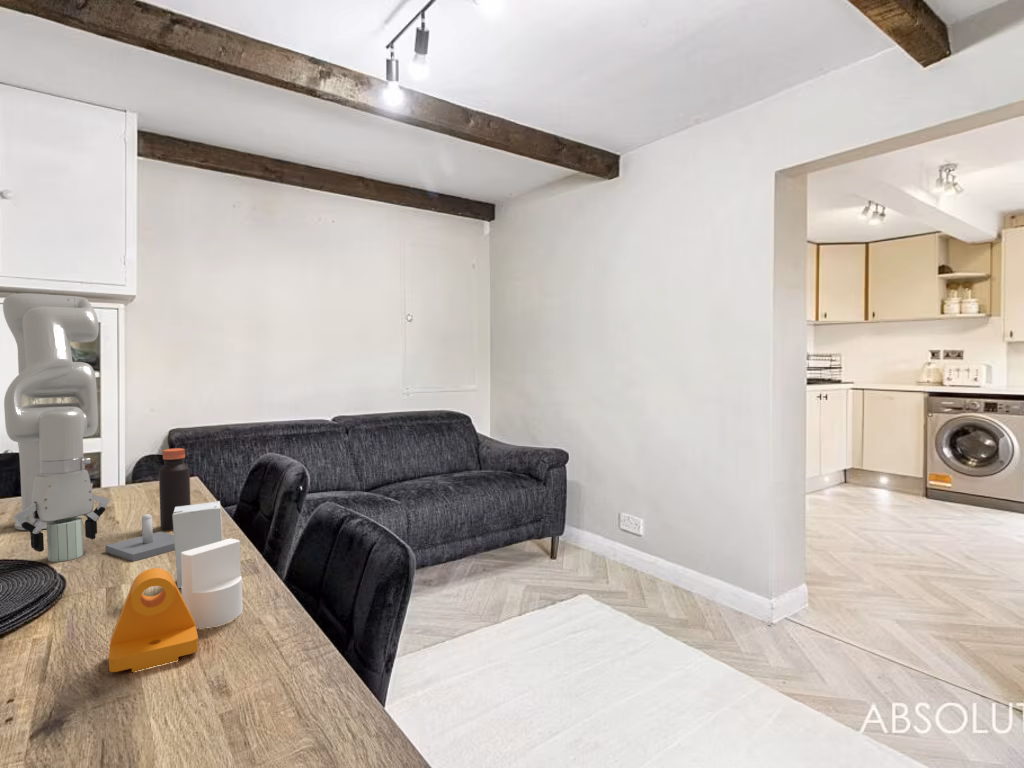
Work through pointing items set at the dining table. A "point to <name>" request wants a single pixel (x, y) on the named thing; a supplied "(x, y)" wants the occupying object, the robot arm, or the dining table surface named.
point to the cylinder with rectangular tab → (212, 582)
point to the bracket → (152, 625)
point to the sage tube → (65, 539)
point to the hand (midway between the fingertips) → (65, 544)
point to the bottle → (173, 485)
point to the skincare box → (195, 529)
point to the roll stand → (143, 543)
